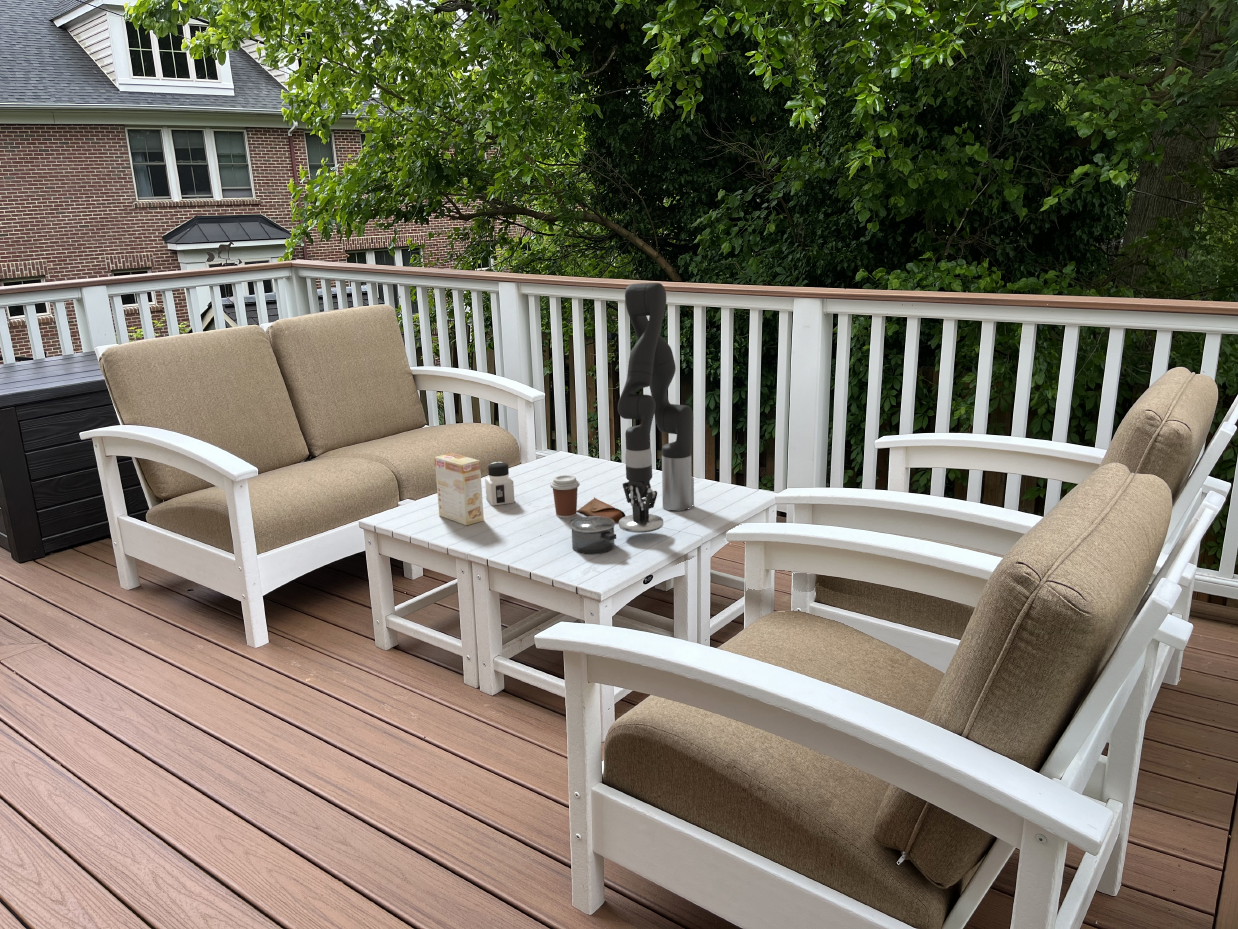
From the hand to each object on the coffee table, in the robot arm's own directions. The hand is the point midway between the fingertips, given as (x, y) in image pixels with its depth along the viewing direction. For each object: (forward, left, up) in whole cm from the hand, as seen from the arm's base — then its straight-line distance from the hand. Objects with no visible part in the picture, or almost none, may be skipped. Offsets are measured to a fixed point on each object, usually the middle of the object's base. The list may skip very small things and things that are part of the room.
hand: (640, 519), depth 276 cm
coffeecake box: (+33, -50, -5) cm, 60 cm away
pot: (+16, -2, -5) cm, 17 cm away
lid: (0, 0, -2) cm, 2 cm away
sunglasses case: (-2, -23, -6) cm, 24 cm away
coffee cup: (+6, -31, -5) cm, 32 cm away
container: (+15, -57, -5) cm, 59 cm away
